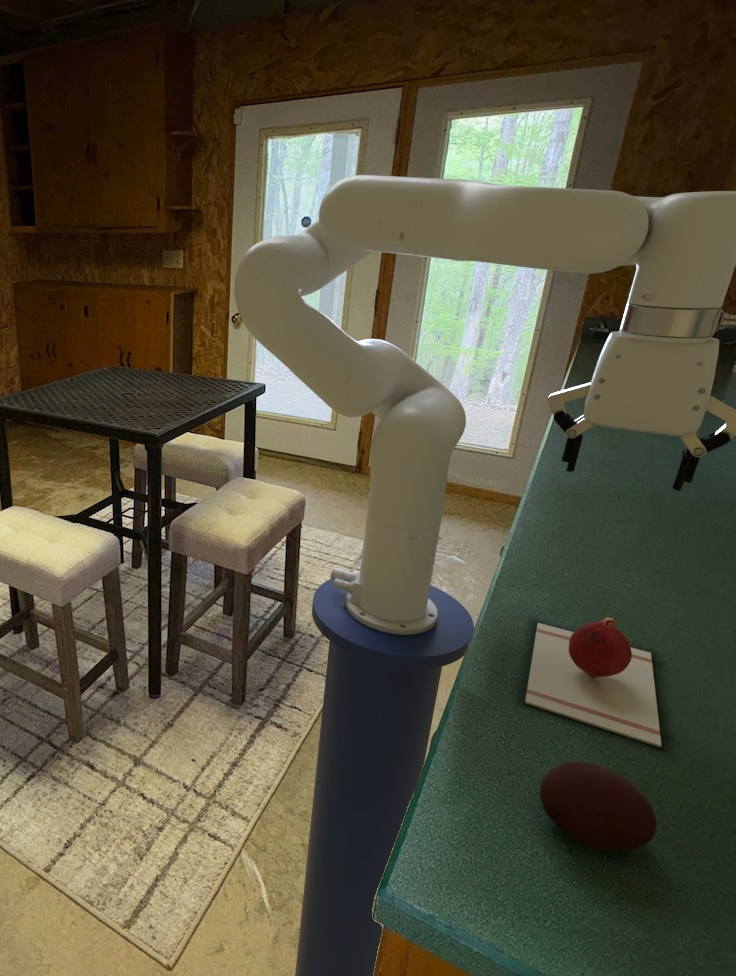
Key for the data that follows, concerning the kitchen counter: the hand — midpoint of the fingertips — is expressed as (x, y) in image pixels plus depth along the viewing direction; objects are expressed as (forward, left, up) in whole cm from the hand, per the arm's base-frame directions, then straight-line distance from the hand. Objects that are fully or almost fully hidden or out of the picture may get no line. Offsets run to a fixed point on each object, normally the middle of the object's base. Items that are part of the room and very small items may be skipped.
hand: (621, 477), depth 71 cm
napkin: (+2, -6, -23) cm, 24 cm away
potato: (+2, -30, -23) cm, 38 cm away
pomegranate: (+2, -6, -23) cm, 24 cm away
